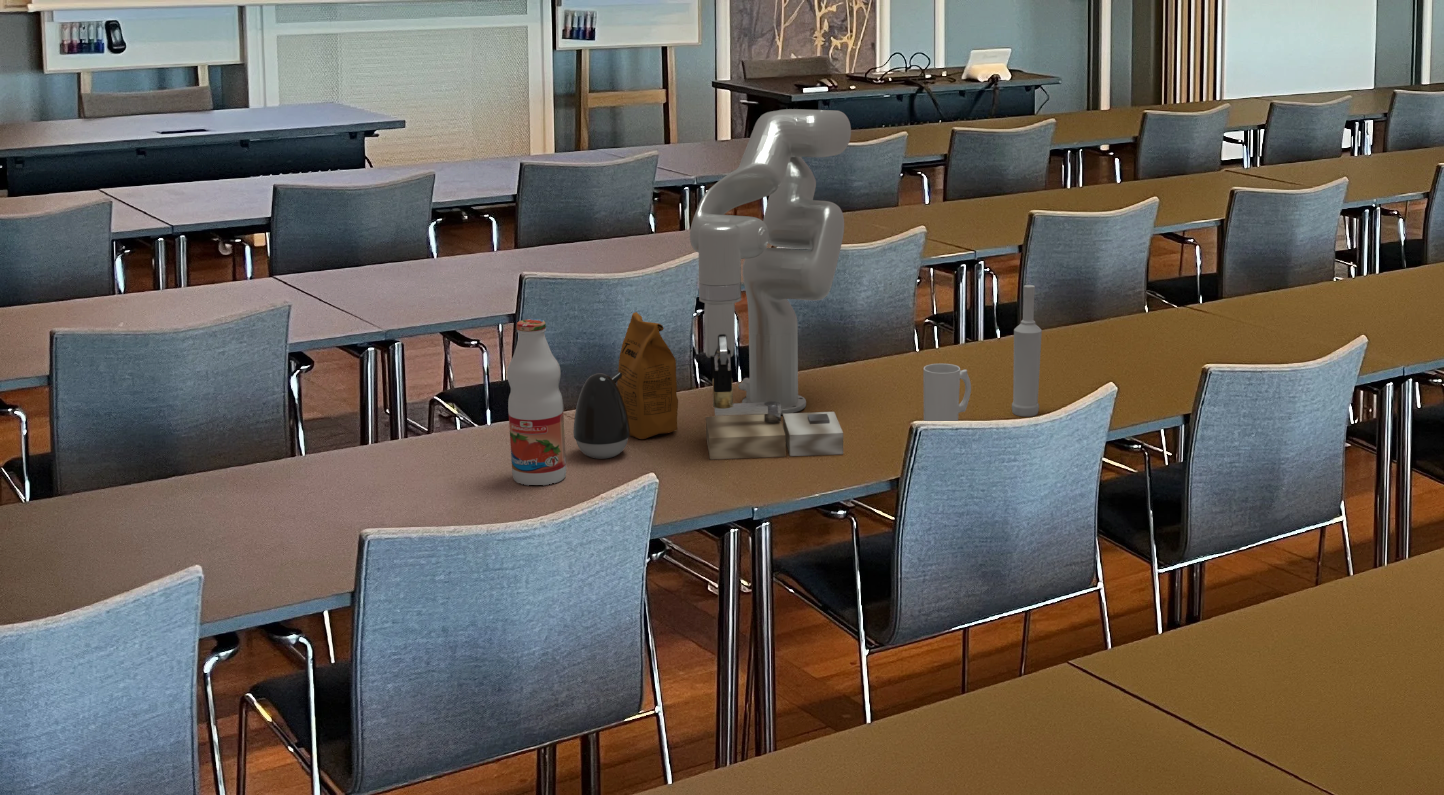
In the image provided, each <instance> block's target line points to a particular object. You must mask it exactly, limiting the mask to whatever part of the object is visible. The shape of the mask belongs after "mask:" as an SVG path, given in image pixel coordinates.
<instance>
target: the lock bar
mask: <svg viewBox="0 0 1444 795" xmlns="http://www.w3.org/2000/svg"><path fill="white" fill-rule="evenodd" d="M733 392H734V391H733V386H732V391H731V392H714V378H712V407H713V408H714V416H736V415H762V414H764V421H765V422H767V423H778V422H780V421H781V422H782V418H781V404H780V402H759V403H742V402H740V403H739V402H738V403H735V402H734V399H733V398H734V395H733V394H734V393H733ZM733 402H734V403H733Z"/></svg>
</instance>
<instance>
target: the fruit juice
mask: <svg viewBox="0 0 1444 795" xmlns="http://www.w3.org/2000/svg"><path fill="white" fill-rule="evenodd" d="M546 324H547V323H546V322H545V320H543V319H540V318H539V319H538V318H527V319H522V320H519V321H518V322H516V330H517V331H516V333H518V338H517V342H516V346H515V350H514V352H513V356H512V357H511V360H510V362H509V363H508V366H507V371H506V375H507V380H508V384H509V387H510V393H509V396H508V400H507V401H508V402H507V403H508V404H507V405H508V407H507V409H508V410H507V411H508V423H509V425H508V426H509V427H508V428H509V442H510V456H511V458H510V459H511V460H510V461H511V473H512V478H513V480H514V482H515V483H517V484H519V483H521V484H520V485H523V484H524V486H529V485H543V486H549V484H550V485H553V484H552V483H554V484H556V483H559V482H561V481H563V480H564V479H565V478H566V474H567V457H566V456H567V455H566V441H565V440H566V437H565V416H564V401H563V396H562V393H561V391H560V389H559V385H560V379H561V375H562V374H561V367H560V364H559V362H558V360H557V359H556V358H555V356H554V355H553V353H552V351H551V348H550V346H549V343H548V340H547V338H546V335H545V333H546V331H547V325H546Z"/></svg>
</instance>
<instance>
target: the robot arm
mask: <svg viewBox="0 0 1444 795" xmlns="http://www.w3.org/2000/svg"><path fill="white" fill-rule="evenodd" d="M851 127H852V126H851V123H850V120H849V118H848V116H847V115H846V114H845V113H844V112H842V111H840V110H835V109H834V110H832V109H831V110H829V109H827V110H826V109H823V110H822V109H805V108H804V109H801V108H800V109H798V108H796V109H795V108H793V109H792V108H789V109H788V108H786V109H779V110H773V111H767V112H765V113H763V114H761V115H760V117H759V118H758V119H757V120H756V122H755V124H754V126H753V130H752V131H751V134H750V136H749V137H750V138H749V139H748V141H747V145H746V148H745V150H744V151H743V155H742V157H741V159H740V163H739V164H738V165H739V166H738V167H737V168H736V169H735V170H733V171H731V172H730V173H728V174H726V175H725V176H724V177H722V178H721V179H719V180H718V181H717V182H716V183H715V184H713V185H712V186H711V187H710V188H708V189H707V191H706V192H705V193H704V195H703V196H702V197H701V199H700V201H699V203H698V205H697V208H696V211H695V214H694V216H693V218H692V222H691V226H690V230H689V240H690V245H691V247H692V248H693V251H695V252H696V253H697V254H698V291H699V292H698V296H699V298H698V299H699V300H698V301H699V302H701V303H704V316H703V317H704V322H703V323H704V327H703V328H704V329H703V330H704V352H705V356H706V357H707V358H708V359H710V378H711V379H713V378H714V392H731V391H732V387H733V378H732V377H733V372H732V370H733V369H732V368H731V365H732V364H731V358H732V357H733V356H734V349H735V333H736V332H735V331H736V329H735V327H736V326H735V325H736V320H735V317H736V316H735V315H736V310H735V309H736V306H735V304H736V303H740V301H742V279H743V285H744V289H745V294H746V300H747V314H748V354H749V356H748V357H749V358H748V361H749V362H748V363H749V364H748V365H749V368H748V369H749V371H748V372H749V377H745V378H743V380H742V382H740V383H738V389H739V390H740V391H746V392H745V393H746V397H744V398H742V401H741V403H759V402H780V404H781V415H782V416H783V414H788V413H799V412H801V411H802V410H803V409H805V408H806V406H807V401H806V400H807V399H806V398H805V397H804V396H802V395H800V394H799V369H798V368H799V366H798V362H799V358H798V357H799V356H798V354H799V353H798V352H799V351H798V348H799V347H798V345H799V344H798V328H799V327H798V325H799V324H798V317H797V314H796V312H795V310H794V308H793V305H792V304H791V303H790V301H789V300H800V301H813V302H814V301H815V302H816V301H821V300H823V299H825V298H826V297H827V296H828V295H829V294H830V291H831V289H832V286H833V282H834V277H835V274H836V270H837V266H838V261H839V257H840V253H841V248H842V244H843V239H844V234H845V220H844V219H845V218H844V213H843V211H842V209H841V207H840V206H839V205H838V204H836V203H834V202H832V201H828V200H815V199H814V195H815V192H816V189H817V188H816V187H817V181H816V177H815V176H814V173H813V171H812V170H811V168H810V167H809V165H808V164H807V163H806V162H805V160H804V159H803V158H828V157H832V156H833V157H834V156H837V155H840V154H842V153H844V151H846V149H847V147H848V146H849V143H850V141H851V137H852V128H851ZM768 196H769V197H768ZM766 197H768V200H767V203H766V208H765V213H764V215H763V219H761V218H758V217H755V216H745V215H733V214H732V215H731V214H726V213H728V212H730V211H731V210H733V209H734V208H738V207H739V206H742V205H745V204H748V203H751V202H755V201H758V200H760V199H763V198H766ZM768 245H771V246H773V247H768ZM743 259H744V261H743V264H742V260H743Z"/></svg>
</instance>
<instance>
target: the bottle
mask: <svg viewBox="0 0 1444 795" xmlns="http://www.w3.org/2000/svg"><path fill="white" fill-rule="evenodd" d="M1035 293H1036V287H1035V285H1033V284H1025V285H1023V309H1022V320H1021V321H1020V323H1019V325H1017V326H1016V327H1015V328H1014V329H1013V386H1012V387H1013V389H1012V390H1013V396H1012V397H1013V398H1012V400H1013V402H1012V403H1011V411H1012V414H1013V415H1016V416H1017V417H1035V416H1037V415H1038V413H1039V410H1040V404H1039V402H1038V401H1039V384H1040V366H1041V352H1042V351H1041V350H1042V349H1041V348H1042V334H1043V333H1042V332H1043V330H1042V329H1041V328H1040V327H1039V326H1038V325H1037V323H1036V321H1035V320H1034V318H1035V316H1034V315H1035V314H1034V313H1035V296H1036V295H1035Z"/></svg>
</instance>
